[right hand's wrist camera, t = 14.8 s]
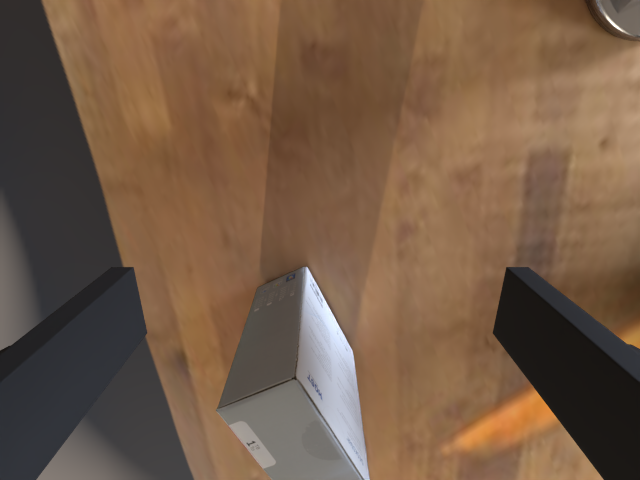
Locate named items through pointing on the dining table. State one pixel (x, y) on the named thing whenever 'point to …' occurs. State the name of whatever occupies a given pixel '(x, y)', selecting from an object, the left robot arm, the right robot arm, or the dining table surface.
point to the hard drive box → (296, 387)
